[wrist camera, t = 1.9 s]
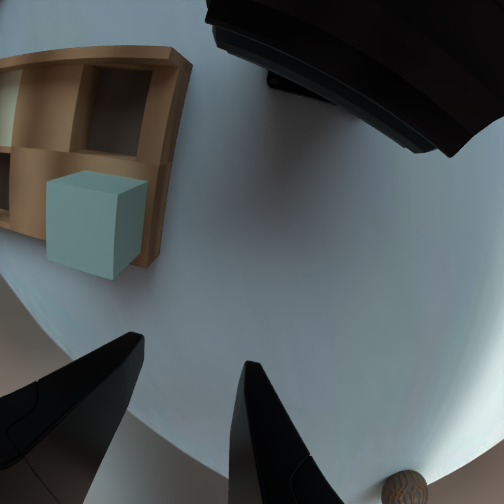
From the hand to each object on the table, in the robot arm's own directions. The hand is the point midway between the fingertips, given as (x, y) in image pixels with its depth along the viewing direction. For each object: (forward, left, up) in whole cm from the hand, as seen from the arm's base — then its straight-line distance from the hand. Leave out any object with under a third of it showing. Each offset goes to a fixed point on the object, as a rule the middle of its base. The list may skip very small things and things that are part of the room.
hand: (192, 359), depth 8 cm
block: (+8, 0, -10) cm, 13 cm away
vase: (-30, +31, -13) cm, 45 cm away
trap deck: (+14, -3, -13) cm, 19 cm away
